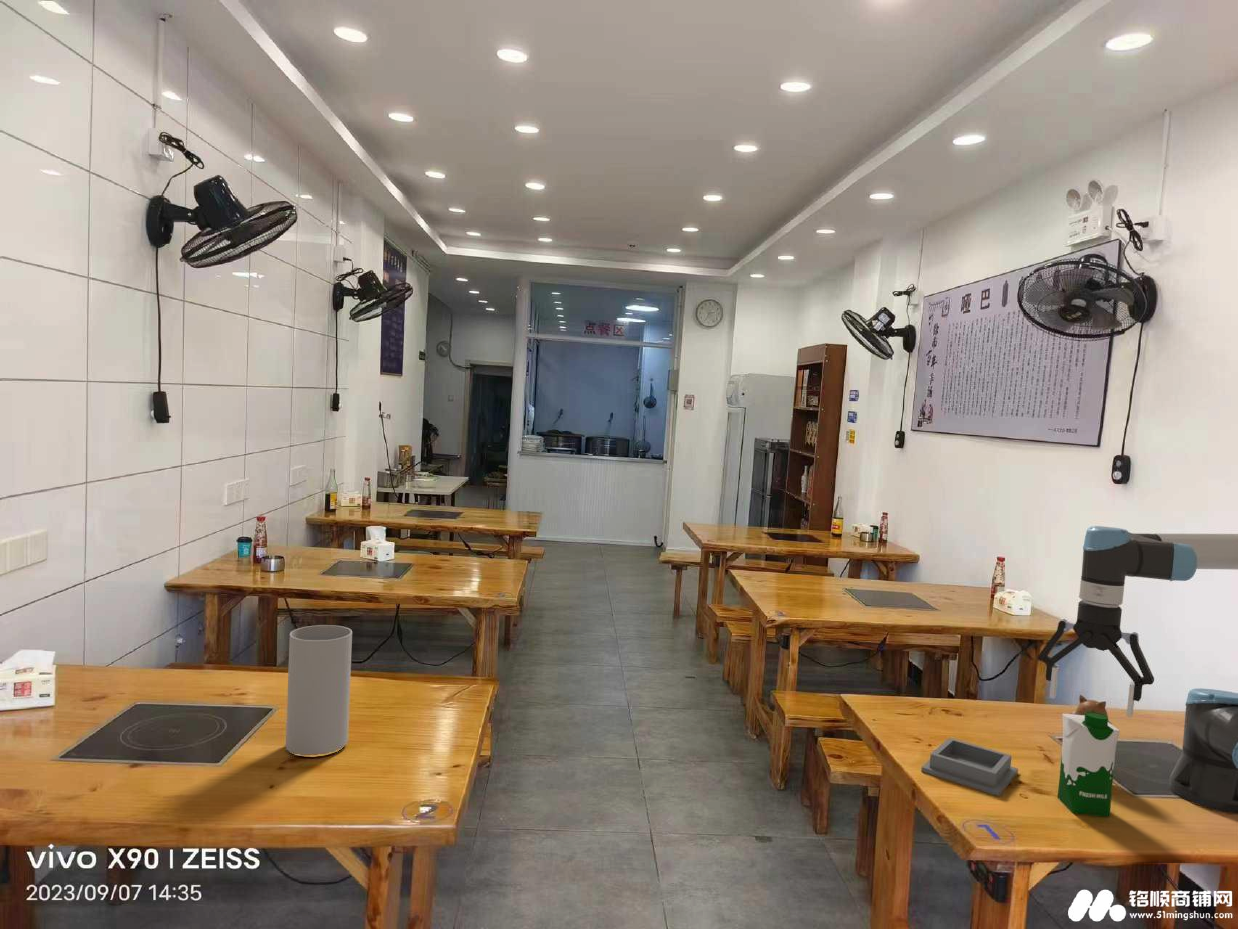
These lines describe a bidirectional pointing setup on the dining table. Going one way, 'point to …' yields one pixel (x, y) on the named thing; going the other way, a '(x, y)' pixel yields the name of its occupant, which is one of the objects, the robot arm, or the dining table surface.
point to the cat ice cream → (1090, 707)
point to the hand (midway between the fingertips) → (1090, 706)
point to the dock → (971, 766)
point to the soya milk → (1087, 763)
